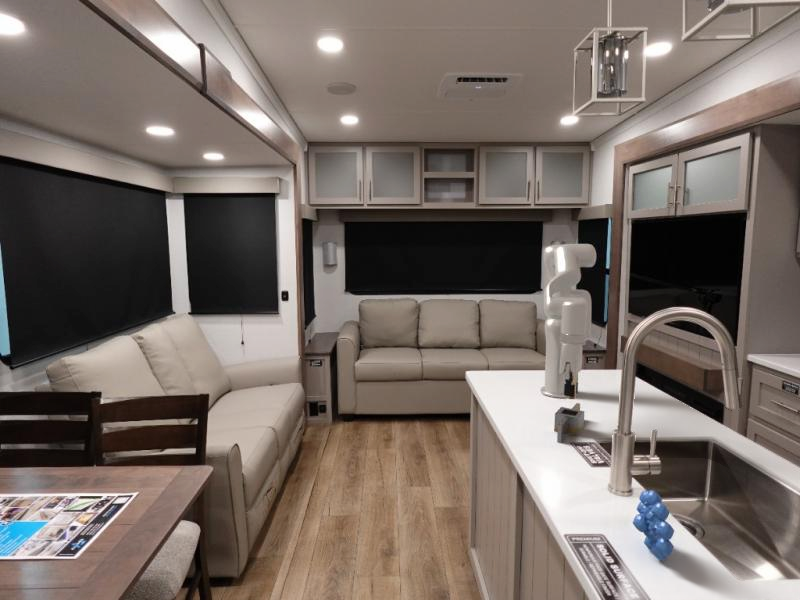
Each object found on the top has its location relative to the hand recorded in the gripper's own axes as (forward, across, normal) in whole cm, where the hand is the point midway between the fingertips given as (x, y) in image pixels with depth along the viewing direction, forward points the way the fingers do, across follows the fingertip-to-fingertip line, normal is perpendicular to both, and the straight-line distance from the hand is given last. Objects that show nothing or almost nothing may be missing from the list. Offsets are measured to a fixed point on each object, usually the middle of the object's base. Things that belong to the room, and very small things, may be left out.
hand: (570, 394), depth 154 cm
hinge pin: (+1, 0, 0) cm, 1 cm away
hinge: (+12, 0, 0) cm, 12 cm away
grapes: (+13, +54, +29) cm, 62 cm away
